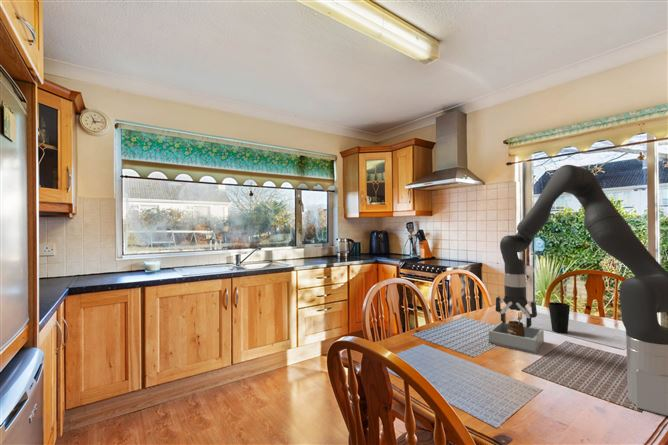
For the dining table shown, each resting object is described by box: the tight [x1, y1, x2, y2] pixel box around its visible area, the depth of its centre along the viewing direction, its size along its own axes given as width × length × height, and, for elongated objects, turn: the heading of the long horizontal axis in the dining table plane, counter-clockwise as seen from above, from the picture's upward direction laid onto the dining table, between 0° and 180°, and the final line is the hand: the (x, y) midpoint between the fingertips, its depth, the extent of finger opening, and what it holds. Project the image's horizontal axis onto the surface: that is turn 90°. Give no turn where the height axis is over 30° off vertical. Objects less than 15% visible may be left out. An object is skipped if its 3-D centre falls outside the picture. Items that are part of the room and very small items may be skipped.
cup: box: [548, 301, 571, 335], centre depth 137 cm, size 8×8×12 cm
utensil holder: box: [507, 311, 525, 337], centre depth 125 cm, size 6×6×12 cm
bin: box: [488, 321, 545, 355], centre depth 125 cm, size 16×16×5 cm
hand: (515, 324), depth 125 cm, fingers open, 8 cm apart
